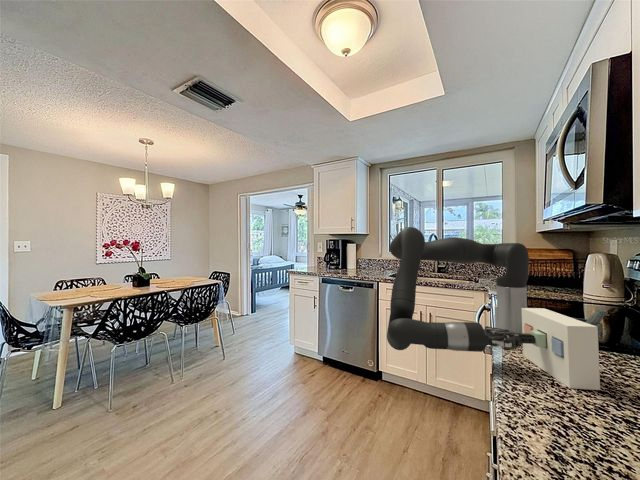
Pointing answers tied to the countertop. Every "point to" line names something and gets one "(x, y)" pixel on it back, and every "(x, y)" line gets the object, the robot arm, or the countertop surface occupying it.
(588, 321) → the mortar and pestle
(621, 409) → the countertop surface
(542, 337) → the sage button
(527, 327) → the terracotta button
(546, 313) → the control box
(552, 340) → the blue button
